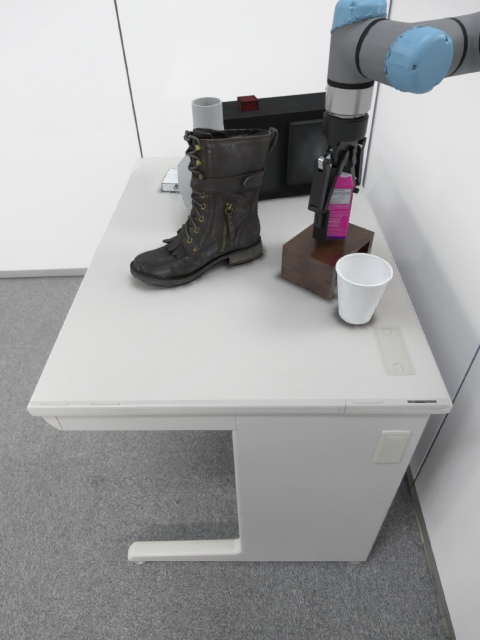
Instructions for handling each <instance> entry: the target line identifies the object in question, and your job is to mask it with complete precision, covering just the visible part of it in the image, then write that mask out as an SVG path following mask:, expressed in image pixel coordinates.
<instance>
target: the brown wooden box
mask: <svg viewBox="0 0 480 640" xmlns="http://www.w3.org/2000/svg"><path fill="white" fill-rule="evenodd" d="M313 226H314V222H313V223H311V224H310V225H308V226H307V227H306V228H304V229H303V230H302V231H300V232H299V233H297V234H296V235H295V236H293V237H292V238H290V239H289V240H287V241H286V242H285V243H283V244H282V247H281V249H282V250H281V265H280V266H281V267H280V269H281V270H280V278H281V279H282V278H283V279H285V280H287V281H289V282H291V283H293V284H295V285H297V286H299V287H301V288H303V289H305V290H308V291H309V292H312V293H314V294H316V295H318V296H320V297H322V298H324V299H327V300H330V299H331V298H332V297H333V296H334V293H335V285H336V284H338V283H337V272H336V263H337V262H338V260H339V259H340V258H342V257H344V256H346V255H348V254H353V253H366V254H371V251H372V246H373V242H374V238H375V234H376V233H375V231H373V230H371V229H367V228H364V227H362V226H359V225H357V224H353V223H351V222H349V224H348V228H347V234H346V239H330V238H326V241H325V242H321V241H319V240H316V239H314V238H312V236H313Z"/></svg>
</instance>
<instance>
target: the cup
mask: <svg viewBox="0 0 480 640" xmlns="http://www.w3.org/2000/svg"><path fill="white" fill-rule="evenodd" d="M336 272H337V283H336V284H337V301H338V302H337V303H338V304H337V305H338V307H337V308H338V315H339V317H340V318H341V319H342V320H343V321H345V322H346V323H347V324H350V325H364V324H366V323H368V322H369V321H370V320H371V318H372V317H373V314H374V313H375V311H376V308H377V306H378V304H379V302H380V300H381V298H382V296H383V294H384V292H385V290H386V288H387V286H388V285H389V282H390V281H391V280H392V278H393V276H394V270H393V267H392V265H391V264H390V263H389V262H388V261H386V259H383V258H382V257H380V256H377V255H375V254H371V253H370V254H366V253H353V254H348V255H346V256H344V257H342V258H340V259H339V260H338V262H337V263H336Z"/></svg>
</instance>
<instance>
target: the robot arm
mask: <svg viewBox="0 0 480 640" xmlns="http://www.w3.org/2000/svg"><path fill="white" fill-rule="evenodd" d="M387 8H388V2H387V0H337V1H336V4H335V6H334V12H333V17H332V24H331V29H330V40H329V41H330V42H329V53H328V63H327V76H326V86H325V88H324V89H325V92H326V97H325V106H324V107H325V109H326V111H325V112H324V114H323V124H322V134H323V136H324V137H325V138H326V139H327V146H326V149H325V154H324V155H322V156H318V155H317V156H316V157H315V159H314V175H313V181H312V186H311V192H310V194H309V197H308V205H307V210H308V211H310V212H313V213H314V216H313V223H314V226H313V236H312V238H314V239H316V240H319V241H321V242H325V241H326V237H327V229H328V221H329V213H330V211H328V210H327V209H328V206H329V203H330V200H331V197H332V194H333V190H334V187H335V184H336V181H337V178H338V176H340V175H341V174H342V172H346V173H349V174H351V175H352V180H353V192H352V199H351V206H350V213H349V218H350V217H351V211H352V204H353V198H354V194H356V195H358V194H359V192H360V188H359V187H360V186H361V184H362V177H363V165H364V155H365V147H366V145H367V144H366V143H367V140H368V139H367V138H368V137H367V136H366V135H367V130H368V125H369V119H370V114H369V112H370V111H371V109H372V102H373V95H374V88H375V82H377V83H380V84H382V85H385V86H388V87H391V88H393V89H395V90H396V91H399V92H401V93H410V94H415V95H424V94H427V93H430V92H432V90H433V89H434V88H436V86H438V85H440V84H441V83H442V82H443V80H444V79H446V78H451V77H456V76H462V75H468V74H474V73H479V72H480V11H475V12H473V13H468V14H463V15H458V16H452V17H451V16H450V17H444V18H443V17H442V18H435V19H428V20H422V21H414V22H407V21H406V22H405V21H398V20H393V19H389V18H387V16H388V13H387V11H388V10H387ZM330 167H332V168H335V169H337V170H333V169H330ZM349 223H350V219H349V220H348V224H349Z"/></svg>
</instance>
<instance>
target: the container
mask: <svg viewBox="0 0 480 640" xmlns="http://www.w3.org/2000/svg"><path fill="white" fill-rule="evenodd" d="M161 190H162V192H169V193H170V194H176V193H177V192H179V190H178V172H177V168H169V169H168V170H167V172H166V174H165V176H164V177H163V179H162V182H161ZM179 193H180V192H179Z"/></svg>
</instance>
